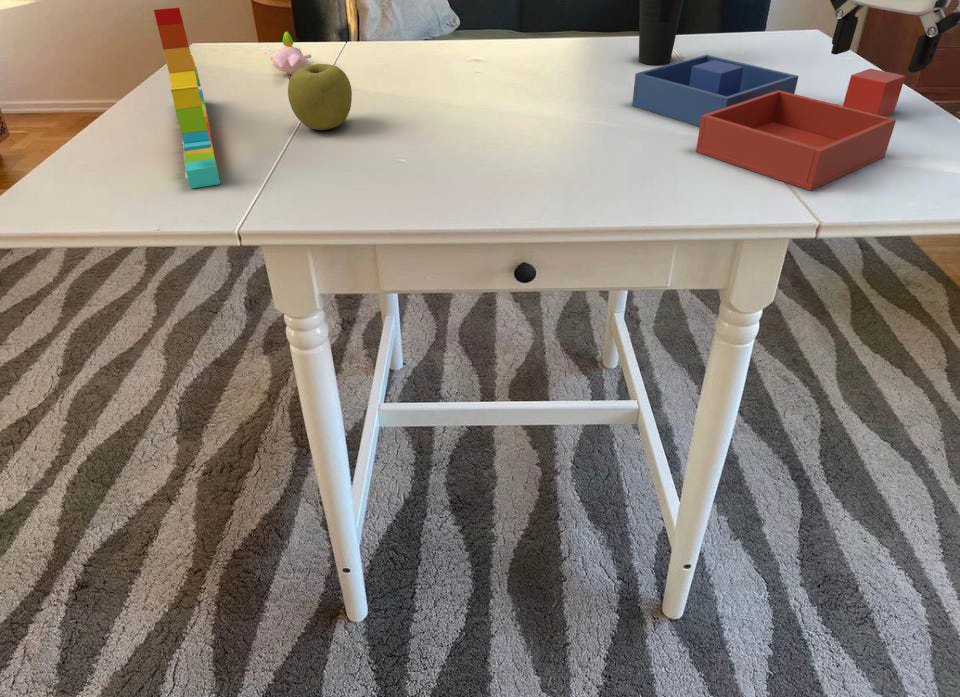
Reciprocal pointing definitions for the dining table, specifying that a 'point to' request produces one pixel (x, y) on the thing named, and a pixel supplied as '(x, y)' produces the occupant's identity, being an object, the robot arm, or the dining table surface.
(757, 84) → the blue bin
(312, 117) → the apple
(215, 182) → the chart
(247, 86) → the dining table surface
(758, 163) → the red bin
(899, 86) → the red block
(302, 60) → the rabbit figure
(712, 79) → the blue block
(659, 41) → the drinking cup
